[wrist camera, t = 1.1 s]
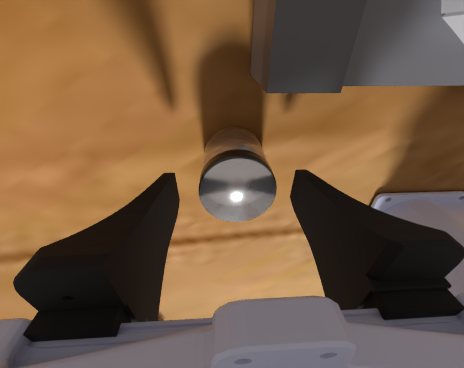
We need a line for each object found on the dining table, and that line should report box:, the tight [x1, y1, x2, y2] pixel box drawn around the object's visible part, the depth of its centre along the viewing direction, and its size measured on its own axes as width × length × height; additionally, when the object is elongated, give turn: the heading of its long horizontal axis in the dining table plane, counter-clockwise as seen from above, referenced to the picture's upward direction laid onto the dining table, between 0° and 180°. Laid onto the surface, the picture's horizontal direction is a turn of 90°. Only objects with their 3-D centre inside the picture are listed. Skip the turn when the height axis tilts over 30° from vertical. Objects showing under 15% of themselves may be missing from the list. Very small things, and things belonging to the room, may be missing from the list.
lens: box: [199, 127, 276, 222], centre depth 14 cm, size 4×4×5 cm
